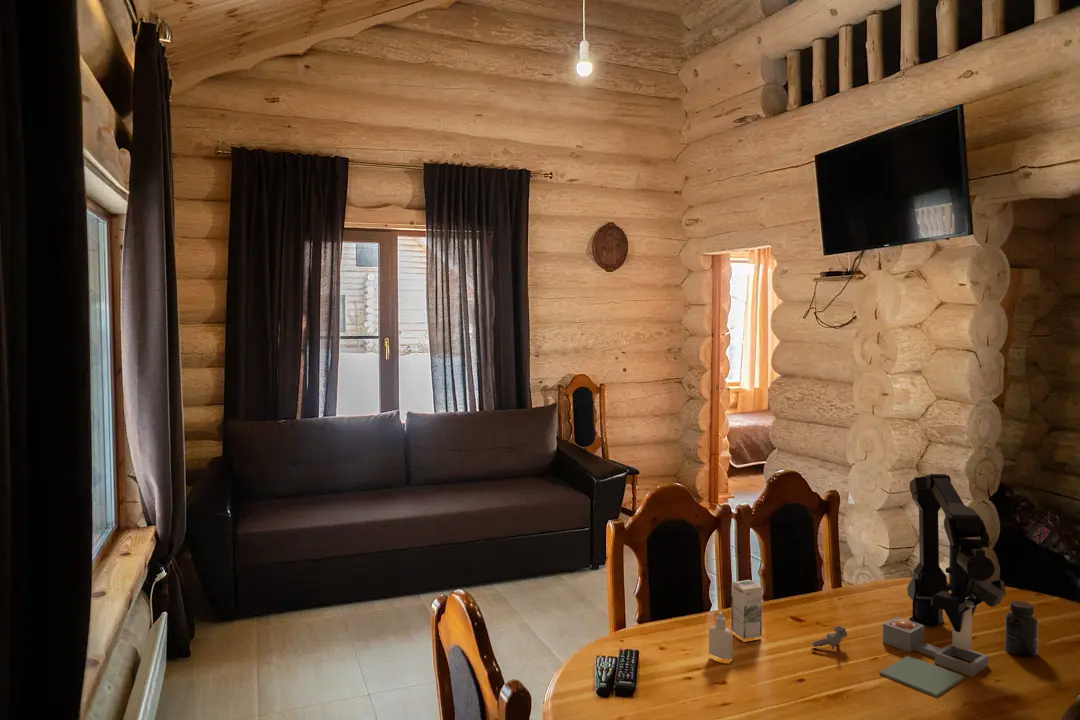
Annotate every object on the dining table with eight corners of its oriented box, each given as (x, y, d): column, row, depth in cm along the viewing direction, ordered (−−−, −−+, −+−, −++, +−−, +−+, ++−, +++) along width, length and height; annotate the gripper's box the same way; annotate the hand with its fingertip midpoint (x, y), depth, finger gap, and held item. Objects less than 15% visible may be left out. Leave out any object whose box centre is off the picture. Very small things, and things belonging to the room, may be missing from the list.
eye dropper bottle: (721, 653, 183) (721, 607, 182) (735, 663, 178) (734, 615, 177) (706, 657, 181) (706, 610, 181) (719, 667, 176) (719, 618, 175)
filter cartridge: (947, 645, 175) (947, 601, 174) (956, 639, 178) (956, 596, 177) (967, 651, 171) (968, 607, 171) (976, 646, 174) (977, 602, 173)
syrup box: (749, 631, 195) (749, 578, 194) (762, 640, 190) (762, 586, 189) (730, 634, 193) (730, 581, 192) (743, 644, 188) (743, 589, 187)
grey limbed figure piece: (807, 640, 190) (841, 628, 189) (818, 663, 186) (852, 651, 185) (807, 628, 182) (841, 616, 182) (818, 652, 178) (854, 640, 178)
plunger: (890, 642, 187) (890, 621, 186) (899, 638, 189) (899, 617, 189) (907, 649, 183) (907, 627, 183) (916, 644, 186) (916, 622, 185)
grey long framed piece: (881, 643, 187) (881, 624, 186) (898, 634, 191) (898, 615, 191) (971, 676, 169) (972, 655, 169) (988, 665, 174) (988, 645, 174)
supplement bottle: (1042, 659, 177) (1044, 611, 176) (1011, 657, 178) (1012, 609, 177) (1030, 646, 183) (1031, 599, 182) (999, 644, 185) (1000, 598, 184)
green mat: (879, 674, 171) (879, 671, 171) (907, 657, 179) (907, 655, 179) (936, 697, 161) (936, 694, 161) (964, 678, 168) (964, 676, 168)
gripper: (981, 584, 161) (980, 652, 162) (1017, 565, 172) (1016, 630, 173) (930, 570, 170) (929, 635, 171) (967, 553, 181) (966, 614, 182)
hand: (961, 629), depth 174 cm, fingers closed on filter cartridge, 4 cm apart
